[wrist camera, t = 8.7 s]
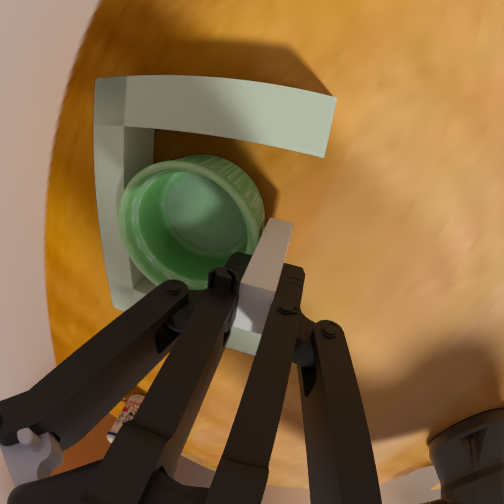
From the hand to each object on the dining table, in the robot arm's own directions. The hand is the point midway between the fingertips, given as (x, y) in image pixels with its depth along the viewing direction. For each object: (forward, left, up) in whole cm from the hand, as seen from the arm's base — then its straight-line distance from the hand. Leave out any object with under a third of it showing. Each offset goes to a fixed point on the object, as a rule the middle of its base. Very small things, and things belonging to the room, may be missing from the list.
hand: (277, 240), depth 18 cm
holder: (+5, 0, -2) cm, 5 cm away
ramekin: (+5, 0, -2) cm, 5 cm away
